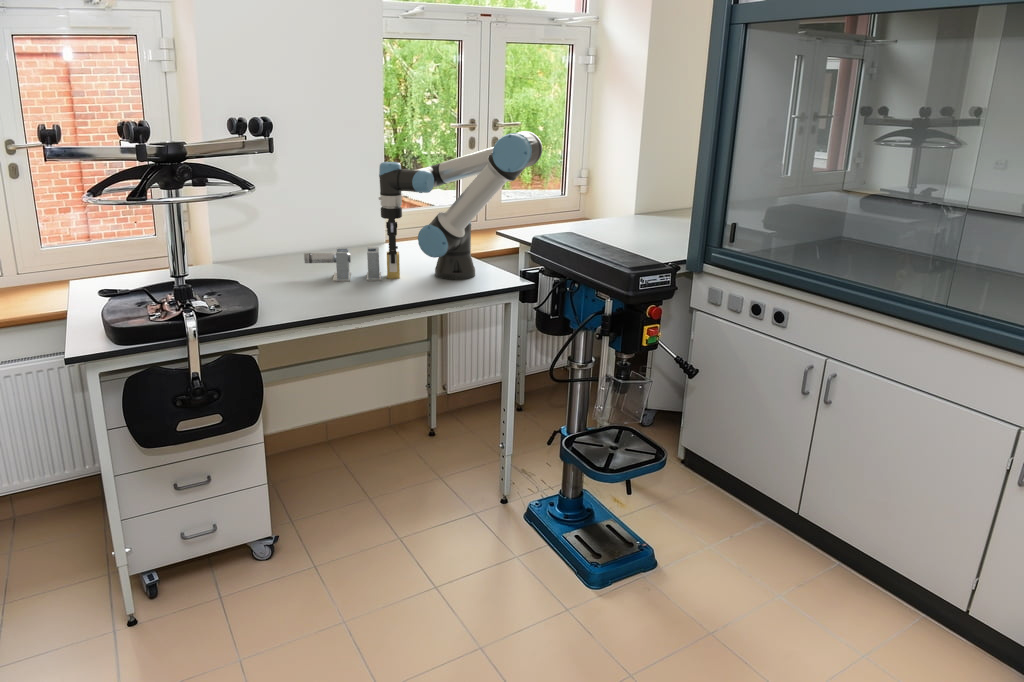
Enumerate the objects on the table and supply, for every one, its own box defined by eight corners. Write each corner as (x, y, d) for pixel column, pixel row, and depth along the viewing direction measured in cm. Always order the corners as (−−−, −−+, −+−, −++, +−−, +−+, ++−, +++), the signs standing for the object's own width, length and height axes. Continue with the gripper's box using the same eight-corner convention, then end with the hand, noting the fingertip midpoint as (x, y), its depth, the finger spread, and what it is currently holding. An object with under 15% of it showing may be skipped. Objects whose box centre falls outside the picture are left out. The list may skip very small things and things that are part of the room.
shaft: (350, 261, 269) (350, 251, 268) (350, 263, 266) (349, 253, 265) (305, 262, 267) (305, 252, 265) (304, 264, 263) (303, 254, 262)
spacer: (399, 275, 274) (398, 251, 271) (399, 278, 270) (399, 254, 267) (387, 275, 274) (386, 251, 270) (387, 278, 269) (386, 254, 266)
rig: (381, 273, 276) (380, 246, 272) (381, 280, 267) (379, 253, 263) (334, 274, 273) (332, 247, 270) (332, 281, 264) (331, 253, 260)
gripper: (380, 201, 271) (382, 262, 279) (380, 211, 253) (382, 276, 261) (401, 201, 273) (402, 262, 281) (402, 211, 255) (404, 275, 262)
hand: (393, 268), depth 271 cm, fingers open, 7 cm apart
